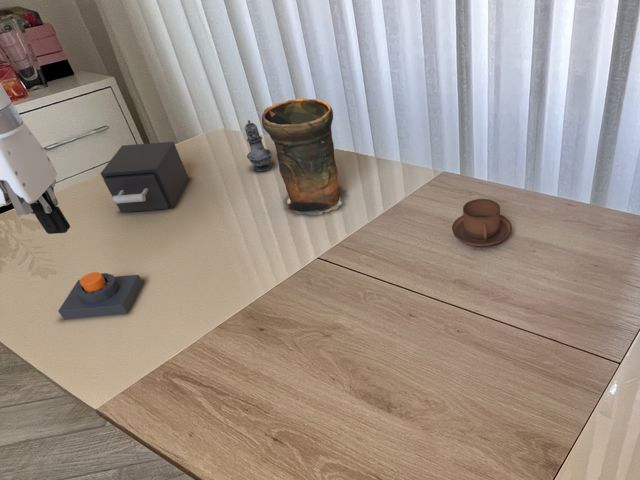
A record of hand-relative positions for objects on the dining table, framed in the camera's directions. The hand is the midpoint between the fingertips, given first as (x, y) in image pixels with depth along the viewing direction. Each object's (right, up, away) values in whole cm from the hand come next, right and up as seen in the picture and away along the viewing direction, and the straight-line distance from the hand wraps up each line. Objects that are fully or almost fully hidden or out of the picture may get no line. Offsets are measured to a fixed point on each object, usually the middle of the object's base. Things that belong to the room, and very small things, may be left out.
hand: (59, 230), depth 92 cm
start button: (+2, -9, +6) cm, 11 cm away
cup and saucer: (+71, +3, +20) cm, 74 cm away
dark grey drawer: (-4, +14, +33) cm, 36 cm away
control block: (+2, -11, +9) cm, 14 cm away
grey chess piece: (+18, +25, +45) cm, 54 cm away
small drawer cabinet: (-4, +16, +36) cm, 40 cm away
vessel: (+34, +14, +33) cm, 50 cm away
